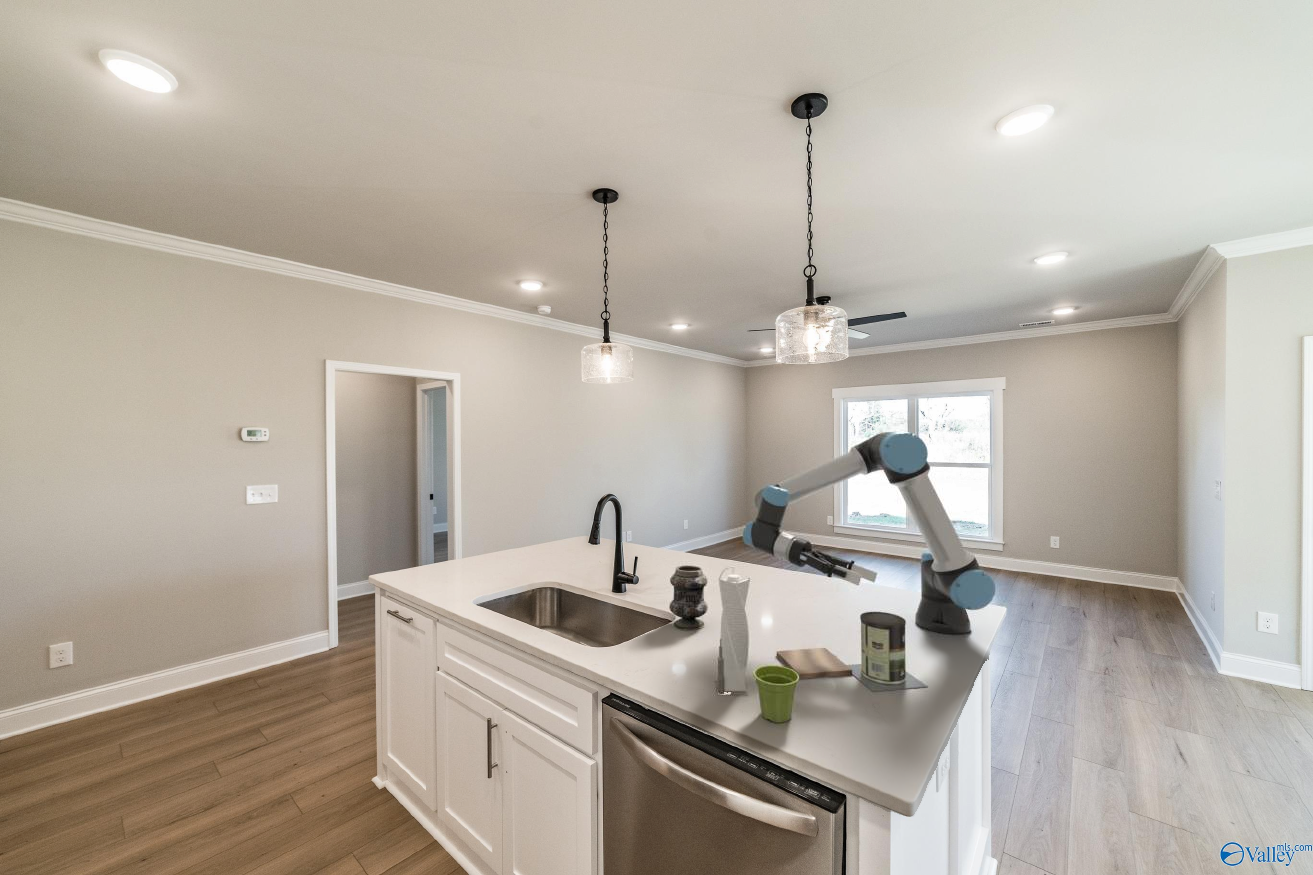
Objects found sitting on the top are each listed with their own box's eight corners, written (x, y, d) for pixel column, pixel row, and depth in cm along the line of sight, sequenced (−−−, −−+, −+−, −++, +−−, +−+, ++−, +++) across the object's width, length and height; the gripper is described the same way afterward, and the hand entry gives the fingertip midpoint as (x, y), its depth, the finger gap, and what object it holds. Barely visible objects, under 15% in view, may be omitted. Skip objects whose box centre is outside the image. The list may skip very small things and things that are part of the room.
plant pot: (748, 705, 114) (748, 665, 114) (790, 703, 115) (790, 663, 115) (760, 728, 105) (760, 685, 105) (806, 726, 106) (805, 683, 106)
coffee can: (900, 668, 132) (899, 612, 132) (911, 686, 122) (911, 626, 122) (857, 664, 134) (856, 609, 134) (864, 682, 124) (864, 623, 124)
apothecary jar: (714, 622, 166) (714, 566, 166) (696, 634, 156) (696, 574, 156) (681, 616, 172) (681, 561, 173) (662, 627, 162) (662, 569, 162)
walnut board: (825, 652, 143) (825, 647, 143) (852, 674, 129) (852, 669, 129) (776, 655, 140) (776, 651, 140) (799, 678, 127) (799, 673, 127)
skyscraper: (714, 679, 127) (714, 564, 127) (747, 679, 127) (747, 564, 127) (717, 696, 119) (717, 573, 119) (753, 696, 118) (752, 573, 119)
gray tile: (891, 662, 136) (891, 661, 136) (927, 687, 122) (927, 686, 122) (841, 666, 134) (841, 665, 134) (873, 691, 120) (873, 690, 120)
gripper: (807, 561, 158) (877, 589, 144) (770, 563, 139) (848, 596, 125) (813, 537, 158) (885, 563, 144) (778, 536, 139) (856, 566, 125)
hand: (868, 578), depth 135 cm, fingers open, 13 cm apart
